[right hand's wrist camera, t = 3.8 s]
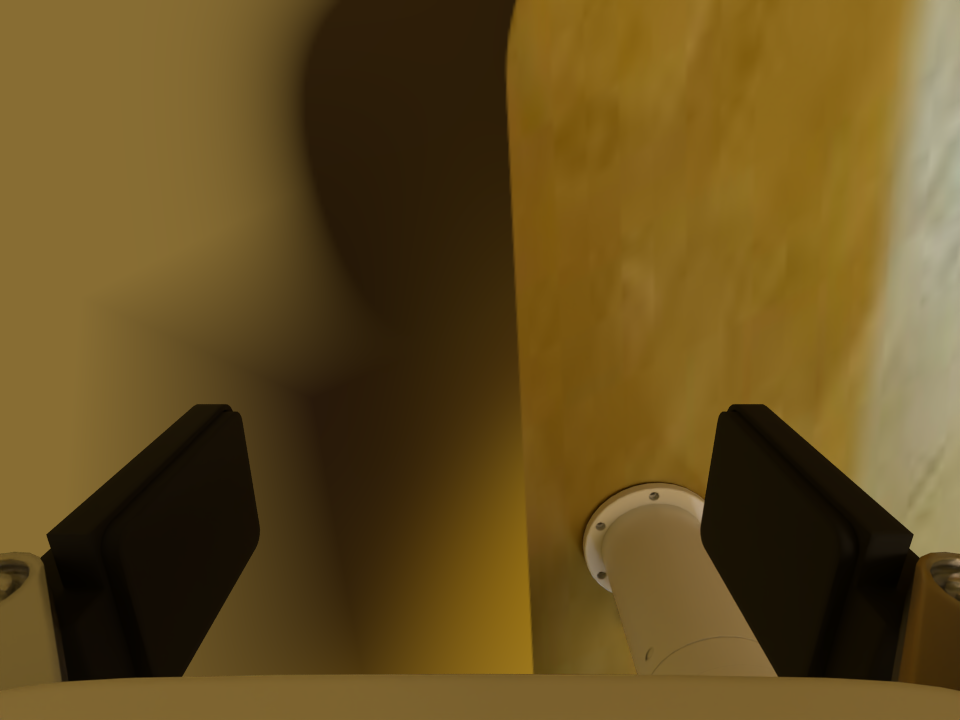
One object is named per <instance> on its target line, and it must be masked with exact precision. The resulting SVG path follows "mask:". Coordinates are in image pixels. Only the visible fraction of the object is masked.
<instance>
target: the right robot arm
mask: <svg viewBox="0 0 960 720" xmlns="http://www.w3.org/2000/svg"><path fill="white" fill-rule="evenodd" d="M259 535H260V526H259V520H258V514H257V508H256V501H255V495H254V489H253V483H252V477H251V471H250V465H249V459H248V453H247V447H246V441H245V435H244V428H243V422H242V418H241V415H240V414H239V413H238V412H233V411H232V409H231V407H230V406H229V405H227V404H197V405H195V406H193V407H192V408H191V409H190V410H189V411H188V412H186V413H185V414H184V415H183V416H182V417H181V418H180V419H178V420H177V421H176V422H175V423H174V424H173V425H171V426H170V427H169V428H168V429H167V430H166V431H165V432H164V433H162V434H161V435H160V436H159V437H158V438H157V439H155V440H154V441H153V442H152V443H151V444H150V445H149V446H147V447H146V448H145V449H144V450H143V451H142V452H141V453H139V454H138V455H137V456H136V457H135V458H134V459H132V460H131V461H130V462H129V463H128V464H127V465H126V466H125V467H123V468H122V469H121V470H120V471H119V472H118V473H116V474H115V475H114V476H113V477H112V478H111V479H110V480H108V481H107V482H106V483H105V484H104V485H103V486H102V487H100V488H99V489H98V490H97V491H96V492H95V493H94V494H92V495H91V496H90V497H89V498H88V499H87V500H86V501H84V502H83V503H82V504H81V505H80V506H79V507H77V508H76V509H75V510H74V511H73V512H72V513H71V514H69V515H68V516H67V517H66V518H65V519H64V520H63V521H61V522H60V523H59V524H58V525H57V526H56V527H54V528H53V529H52V530H51V531H50V532H49V533H48V534H47V538H48V541H49V544H50V547H51V549H50V550H49V551H47V552H46V553H45V554H44V555H43V556H42V557H41V558H40V557H38V556H36V555H33V554H31V553H24V552H11V553H3V554H0V720H960V554H957V553H949V552H936V553H929V554H927V555H924V556H922V557H920V558H919V557H918V556H917V555H916V554H915V553H914V552H913V551H911V550H910V549H909V547H910V544H911V541H912V538H913V535H914V534H912V533H911V532H910V531H909V530H908V529H907V528H906V527H904V526H903V525H902V524H901V523H900V522H899V521H898V520H896V519H895V518H894V517H893V516H892V515H891V514H889V513H888V512H887V511H886V510H885V509H884V508H883V507H881V506H880V505H879V504H878V503H877V502H876V501H875V500H873V499H872V498H871V497H870V496H869V495H868V494H867V493H865V492H864V491H863V490H862V489H861V488H860V487H858V486H857V485H856V484H855V483H854V482H853V481H852V480H850V479H849V478H848V477H847V476H846V475H845V474H844V473H842V472H841V471H840V470H839V469H838V468H837V467H836V466H834V465H833V464H832V463H831V462H830V461H829V460H828V459H826V458H825V457H824V456H823V455H822V454H821V453H819V452H818V451H817V450H816V449H815V448H814V447H813V446H811V445H810V444H809V443H808V442H807V441H806V440H805V439H803V438H802V437H801V436H800V435H799V434H798V433H797V432H795V431H794V430H793V429H792V428H791V427H790V426H789V425H787V424H786V423H785V422H784V421H783V420H782V419H780V418H779V417H778V416H777V415H776V414H775V413H774V412H772V411H771V410H770V409H769V408H768V407H767V406H765V405H763V404H733V405H731V406H730V407H729V409H728V411H727V412H722V413H720V415H719V418H718V422H717V428H716V434H715V441H714V447H713V453H712V459H711V465H710V471H709V477H708V483H707V489H706V495H705V500H704V499H702V498H701V497H700V496H699V495H698V494H696V493H694V492H692V491H691V490H689V489H687V488H684V487H681V486H678V485H674V484H667V483H647V484H642V485H637V486H633V487H631V488H628V489H625V490H623V491H621V492H619V493H617V494H615V495H614V496H612V497H610V498H609V499H608V500H607V501H605V502H604V503H603V504H602V505H601V506H600V507H599V508H598V509H597V510H596V511H595V513H594V514H593V515H592V517H591V519H590V520H589V522H588V524H587V526H586V529H585V533H584V537H583V551H584V557H585V560H586V564H587V567H588V569H589V571H590V573H591V574H592V576H593V577H594V579H595V580H596V581H597V582H598V583H599V584H600V585H601V586H602V587H604V588H605V589H607V590H608V591H610V592H612V593H613V596H614V599H615V602H616V606H617V609H618V612H619V615H620V619H621V622H622V625H623V629H624V632H625V635H626V639H627V642H628V645H629V648H630V652H631V655H632V658H633V662H634V665H635V668H636V671H637V675H573V674H392V675H391V674H390V675H389V674H388V675H255V676H205V677H182V676H183V674H184V672H185V671H186V669H187V667H188V665H189V664H190V662H191V660H192V658H193V657H194V655H195V653H196V651H197V650H198V648H199V646H200V644H201V643H202V641H203V639H204V638H205V636H206V634H207V632H208V630H209V629H210V627H211V625H212V624H213V622H214V620H215V618H216V617H217V615H218V613H219V611H220V609H221V608H222V606H223V604H224V603H225V601H226V599H227V597H228V596H229V594H230V592H231V590H232V589H233V587H234V585H235V583H236V582H237V580H238V578H239V576H240V575H241V573H242V571H243V569H244V568H245V566H246V564H247V562H248V561H249V559H250V557H251V555H252V554H253V552H254V550H255V548H256V546H257V544H258V541H259Z"/></svg>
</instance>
